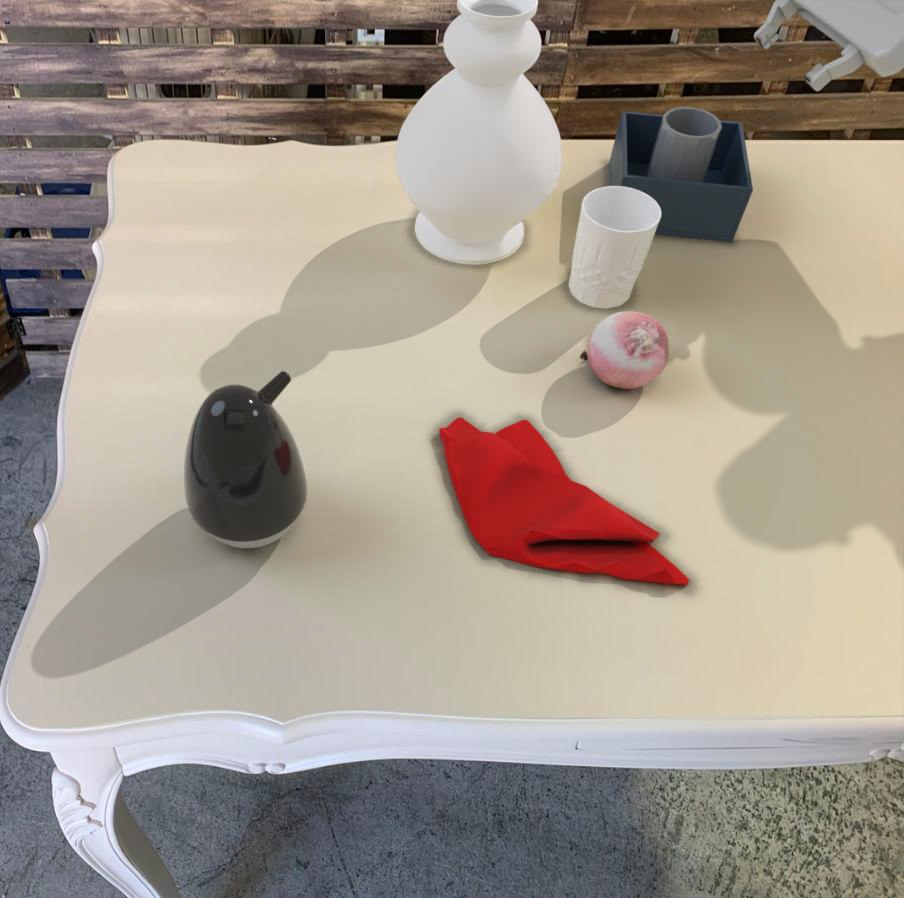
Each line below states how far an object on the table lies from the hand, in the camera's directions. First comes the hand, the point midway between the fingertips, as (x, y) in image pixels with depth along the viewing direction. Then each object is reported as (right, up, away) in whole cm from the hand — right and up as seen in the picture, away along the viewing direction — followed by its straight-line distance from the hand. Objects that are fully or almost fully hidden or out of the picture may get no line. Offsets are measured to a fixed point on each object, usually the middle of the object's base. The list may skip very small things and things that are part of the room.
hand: (783, 63), depth 97 cm
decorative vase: (-33, -16, +7) cm, 37 cm away
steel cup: (-9, -10, +10) cm, 17 cm away
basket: (-9, -11, +11) cm, 18 cm away
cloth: (-30, -49, -17) cm, 60 cm away
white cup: (-20, -24, +1) cm, 31 cm away
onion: (-20, -35, -6) cm, 40 cm away
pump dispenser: (-55, -50, -18) cm, 76 cm away
